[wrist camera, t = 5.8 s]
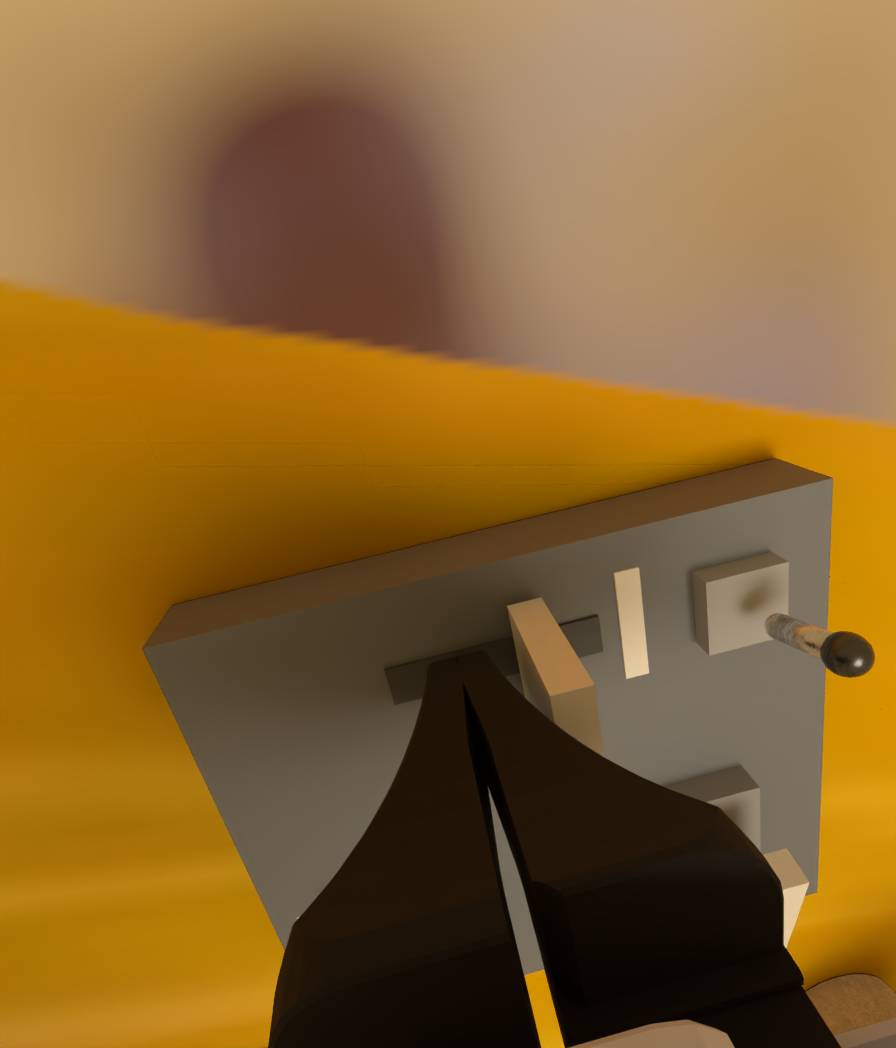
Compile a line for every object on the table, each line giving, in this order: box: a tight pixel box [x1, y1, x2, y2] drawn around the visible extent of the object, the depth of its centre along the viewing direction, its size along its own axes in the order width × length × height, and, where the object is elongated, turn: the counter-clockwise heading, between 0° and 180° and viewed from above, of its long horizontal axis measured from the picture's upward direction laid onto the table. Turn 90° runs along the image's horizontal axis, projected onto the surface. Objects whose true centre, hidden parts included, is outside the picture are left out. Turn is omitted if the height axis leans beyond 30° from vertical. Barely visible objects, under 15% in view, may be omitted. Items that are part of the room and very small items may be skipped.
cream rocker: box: [763, 848, 810, 948], centre depth 15 cm, size 4×3×1 cm, turn 12°
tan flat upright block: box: [507, 597, 605, 757], centre depth 12 cm, size 3×1×3 cm, turn 12°
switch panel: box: [142, 458, 833, 975], centre depth 16 cm, size 14×16×4 cm
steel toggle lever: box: [764, 613, 875, 678], centre depth 12 cm, size 1×1×2 cm
